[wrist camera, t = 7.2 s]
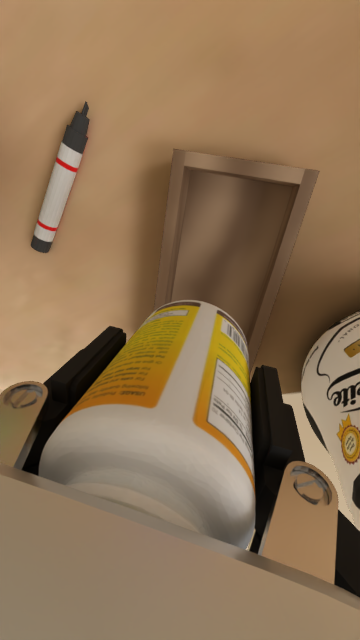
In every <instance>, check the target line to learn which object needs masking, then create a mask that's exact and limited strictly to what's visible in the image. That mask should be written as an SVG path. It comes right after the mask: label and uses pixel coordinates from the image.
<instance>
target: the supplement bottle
mask: <svg viewBox="0 0 360 640" xmlns="http://www.w3.org/2000/svg"><path fill="white" fill-rule="evenodd" d="M39 476H40V477H42V478H45V479H48V480H51V481H54V482H57V483H60V484H63V485H65V486H68V487H71V488H74V489H77V490H80V491H83V492H85V493H88V494H91V495H94V496H97V497H100V498H102V499H105V500H108V501H111V502H114V503H116V504H119V505H122V506H125V507H128V508H131V509H133V510H136V511H139V512H142V513H145V514H147V515H150V516H153V517H156V518H159V519H161V520H164V521H167V522H170V523H173V524H175V525H178V526H181V527H184V528H187V529H189V530H192V531H195V532H198V533H200V534H203V535H206V536H209V537H211V538H214V539H217V540H220V541H223V542H225V543H228V544H231V545H234V546H236V547H239V548H242V549H245V550H246V548H247V546H248V544H249V542H250V540H251V538H252V535H253V532H254V526H255V514H256V513H255V506H256V499H255V479H254V456H253V436H252V414H251V393H250V372H249V353H248V346H247V342H246V339H245V336H244V334H243V332H242V330H241V328H240V327H239V325H238V324H237V323H236V322H235V320H234V319H233V318H232V317H231V316H230V315H228V314H227V313H226V312H224V311H223V310H222V309H220V308H218V307H216V306H214V305H212V304H209V303H206V302H202V301H196V300H180V301H175V302H171V303H168V304H165V305H163V306H161V307H160V308H158V309H157V310H155V311H154V312H153V313H152V314H151V315H150V316H149V317H148V318H147V319H146V320H145V321H144V323H143V324H142V325H141V326H140V327H139V329H138V330H137V331H136V332H135V333H134V335H133V336H132V337H131V338H130V339H129V341H128V342H127V343H126V344H125V346H124V347H123V348H122V349H121V350H120V352H119V353H118V354H117V355H116V357H115V358H114V359H113V360H112V361H111V363H110V364H109V365H108V366H107V367H106V369H105V370H104V371H103V372H102V373H101V375H100V376H99V377H98V378H97V380H96V381H95V382H94V383H93V384H92V386H91V387H90V388H89V389H88V390H87V392H86V393H85V394H84V395H83V396H82V398H81V399H80V400H79V401H78V402H77V404H76V405H75V406H74V407H73V408H72V410H71V411H70V412H69V413H68V414H67V416H66V417H65V418H64V419H63V420H62V422H61V423H60V424H59V425H58V427H57V428H56V429H55V431H54V432H53V433H52V435H51V436H50V438H49V439H48V441H47V443H46V444H45V446H44V449H43V451H42V454H41V459H40V463H39Z"/></svg>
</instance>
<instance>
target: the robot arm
mask: <svg viewBox="0 0 360 640" xmlns="http://www.w3.org/2000/svg"><path fill="white" fill-rule="evenodd" d="M125 344H126V333H123V330H122V329H120V328H116V327H112V326H109V327H108V328H107V329H106V330H105V331H103V332H102V333H101V334H100V335H99V336H98V337H97V338H96V339H95V340H93V341H92V342H91V343H90V344H89V345H88V346H87V347H86V348H85V349H82V350H80V351H79V352H78V353H77V354H76V355H75V356H74V357H72V358H71V359H70V360H69V361H68V362H67V363H66V364H65V365H63V366H62V367H61V368H60V369H59V370H58V371H57V372H56V373H54V374H53V375H52V376H51V377H50V378H49V379H48V380H47V381H46V382H44V383H43V384H42V383H39V382H34V381H26V382H21V383H17V384H15V385H12V386H10V387H8V388H7V389H5V390H4V391H3V392H2V393H1V394H0V640H360V531H359V530H358V529H357V528H356V527H355V526H354V525H353V524H352V523H351V522H350V521H349V520H348V519H347V518H346V517H345V516H344V515H343V514H342V513H341V512H340V511H339V510H338V495H337V492H336V489H335V487H334V486H333V484H332V482H331V481H330V480H329V478H328V477H327V476H326V475H325V474H324V473H323V472H322V471H321V470H319V469H317V468H316V467H315V466H313V465H311V464H309V463H306V462H305V458H304V454H303V450H302V446H301V441H300V437H299V433H298V429H297V425H296V421H295V416H294V412H293V408H292V406H291V405H288V404H284V403H283V399H282V393H281V388H280V383H279V378H278V373H277V369H276V368H272V367H269V366H265V365H262V366H261V368H259V367H256V369H255V372H254V374H253V377H252V380H251V383H250V393H251V414H252V436H253V456H254V479H255V499H256V506H255V513H256V514H255V526H254V532H253V535H252V538H251V540H250V543H249V546H248V549H247V550H245V549H242V548H239V547H236V546H234V545H231V544H228V543H225V542H223V541H220V540H217V539H214V538H211V537H209V536H206V535H203V534H200V533H198V532H195V531H192V530H189V529H187V528H184V527H181V526H178V525H175V524H173V523H170V522H167V521H164V520H161V519H159V518H156V517H153V516H150V515H147V514H145V513H142V512H139V511H136V510H133V509H131V508H128V507H125V506H122V505H119V504H116V503H114V502H111V501H108V500H105V499H102V498H100V497H97V496H94V495H91V494H88V493H85V492H83V491H80V490H77V489H74V488H71V487H68V486H65V485H63V484H60V483H57V482H54V481H51V480H48V479H45V478H42V477H40V476H39V463H40V459H41V454H42V451H43V449H44V446H45V444H46V443H47V441H48V439H49V438H50V436H51V435H52V433H53V432H54V431H55V429H56V428H57V427H58V425H59V424H60V423H61V422H62V420H63V419H64V418H65V417H66V416H67V414H68V413H69V412H70V411H71V410H72V408H73V407H74V406H75V405H76V404H77V402H78V401H79V400H80V399H81V398H82V396H83V395H84V394H85V393H86V392H87V390H88V389H89V388H90V387H91V386H92V384H93V383H94V382H95V381H96V380H97V378H98V377H99V376H100V375H101V373H102V372H103V371H104V370H105V369H106V367H107V366H108V365H109V364H110V363H111V361H112V360H113V359H114V358H115V357H116V355H117V354H118V353H119V352H120V350H121V349H122V348H123V347H124V346H125Z"/></svg>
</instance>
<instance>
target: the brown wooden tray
mask: <svg viewBox="0 0 360 640" xmlns="http://www.w3.org/2000/svg"><path fill="white" fill-rule="evenodd" d="M318 174H319V171H317V170H310V169H304V168H297V167H290V166H284V165H277V164H270V163H264V162H257V161H251V160H244V159H237V158H231V157H224V156H218V155H211V154H204V153H198V152H191V151H184V150H178V149H174V150H173V158H172V166H171V174H170V182H169V190H168V199H167V207H166V215H165V223H164V231H163V239H162V247H161V256H160V264H159V272H158V280H157V288H156V296H155V305H154V311H155V310H157V309H158V308H160V307H161V306H163V305H165V304H168V303H171V302H175V301H180V300H196V301H202V302H206V303H209V304H212V305H214V306H216V307H218V308H220V309H222V310H223V311H224V312H226V313H227V314H228V315H230V316H231V317H232V318H233V319H234V320H235V322H236V323H237V324H238V325H239V327H240V328H241V330H242V332H243V334H244V336H245V339H246V342H247V346H248V353H249V372H251V369H252V367H253V364H254V361H255V358H256V355H257V352H258V349H259V346H260V343H261V340H262V337H263V334H264V332H265V329H266V326H267V323H268V320H269V317H270V314H271V311H272V308H273V305H274V302H275V300H276V297H277V294H278V291H279V288H280V285H281V282H282V279H283V276H284V273H285V270H286V267H287V265H288V262H289V259H290V256H291V253H292V250H293V247H294V244H295V241H296V238H297V235H298V232H299V230H300V227H301V224H302V221H303V218H304V215H305V212H306V209H307V206H308V203H309V200H310V198H311V195H312V192H313V189H314V186H315V183H316V180H317V177H318Z"/></svg>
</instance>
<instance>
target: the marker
mask: <svg viewBox="0 0 360 640" xmlns="http://www.w3.org/2000/svg"><path fill="white" fill-rule="evenodd" d="M88 109H89V107H88V105H87V102H85V105H84V108H83V111H82V114H81V113H79V112H78V111H76V113H75V116H74V118H73V120H72V122H71V125H67V127H66V131H65V134H64V137H63V140H62V142H61V145H60V148H59V152H58V155H57V158H56V162H55V165H54V168H53V172H52V175H51V178H50V181H49V185H48V188H47V191H46V195H45V198H44V201H43V205H42V208H41V211H40V214H39V218H38V221H37V224H36V228H35V231H34V236H33V239H32V242H31V247H32V248H33V249H35V250H37V251H39V252H43V253H47V252H49V249H50V247H51V244H52V241H53V239H54V236H55V233H56V231H57V228H58V225H59V222H60V219H61V216H62V213H63V210H64V207H65V205H66V202H67V199H68V196H69V193H70V190H71V187H72V184H73V182H74V179H75V176H76V173H77V170H78V167H79V164H80V161H81V158H82V156H83V151H84V148H85V145H86V142H87V140H88V137H87V136H86V133H87V128H88V124H89V119H88V118H87V117H86V115H87V112H88Z"/></svg>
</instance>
